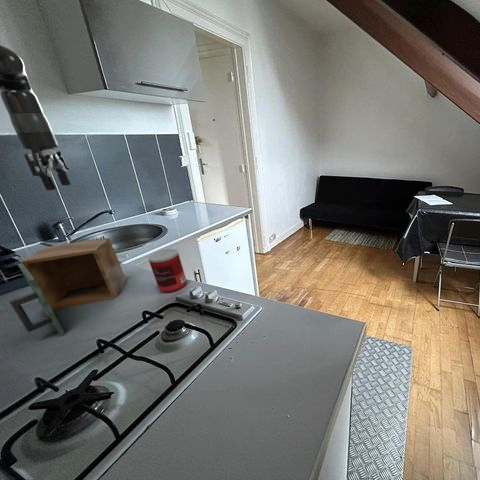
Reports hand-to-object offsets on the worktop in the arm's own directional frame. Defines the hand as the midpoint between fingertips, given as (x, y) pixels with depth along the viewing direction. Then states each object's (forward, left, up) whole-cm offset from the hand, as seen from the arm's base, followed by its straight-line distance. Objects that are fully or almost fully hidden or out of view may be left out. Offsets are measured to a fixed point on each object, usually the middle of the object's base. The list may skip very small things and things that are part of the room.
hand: (59, 187), depth 81 cm
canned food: (+28, -24, -30) cm, 48 cm away
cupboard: (+5, -19, -30) cm, 36 cm away
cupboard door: (0, -32, -30) cm, 44 cm away
